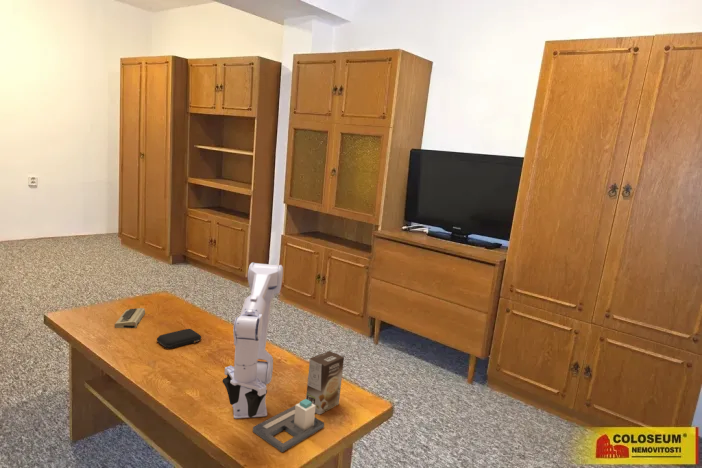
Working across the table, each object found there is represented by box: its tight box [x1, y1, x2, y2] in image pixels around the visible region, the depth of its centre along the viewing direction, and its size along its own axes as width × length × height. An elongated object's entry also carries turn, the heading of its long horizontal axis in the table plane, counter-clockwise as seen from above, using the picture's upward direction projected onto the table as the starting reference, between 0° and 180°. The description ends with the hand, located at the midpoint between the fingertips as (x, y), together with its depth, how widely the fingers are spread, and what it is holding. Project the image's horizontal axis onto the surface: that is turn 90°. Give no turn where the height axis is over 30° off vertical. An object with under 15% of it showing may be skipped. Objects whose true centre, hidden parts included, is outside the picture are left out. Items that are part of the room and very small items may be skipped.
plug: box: [294, 398, 316, 431], centre depth 132 cm, size 4×4×8 cm
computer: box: [114, 307, 146, 329], centre depth 192 cm, size 16×8×3 cm, turn 11°
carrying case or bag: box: [156, 328, 202, 350], centre depth 177 cm, size 11×3×15 cm
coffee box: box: [305, 350, 345, 415], centre depth 143 cm, size 9×6×16 cm
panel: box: [252, 405, 325, 453], centre depth 130 cm, size 16×12×2 cm
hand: (243, 409), depth 121 cm, fingers open, 7 cm apart
